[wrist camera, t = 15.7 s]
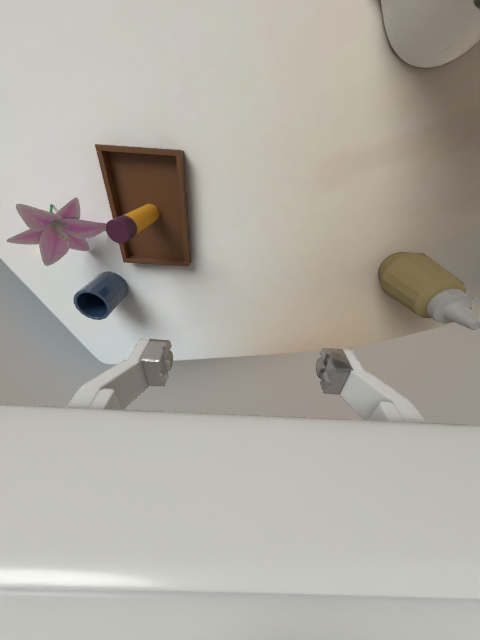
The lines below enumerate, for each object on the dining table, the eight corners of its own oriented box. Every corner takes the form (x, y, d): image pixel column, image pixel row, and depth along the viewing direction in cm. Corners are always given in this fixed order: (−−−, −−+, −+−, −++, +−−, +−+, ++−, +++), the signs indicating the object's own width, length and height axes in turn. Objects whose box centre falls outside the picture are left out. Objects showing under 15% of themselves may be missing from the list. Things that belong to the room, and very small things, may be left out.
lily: (59, 254, 42) (56, 288, 37) (-14, 193, 33) (-31, 226, 27) (117, 226, 43) (123, 255, 38) (63, 157, 33) (61, 183, 28)
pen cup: (93, 270, 43) (68, 289, 37) (124, 272, 43) (104, 291, 37) (102, 297, 46) (80, 318, 40) (130, 299, 47) (113, 320, 40)
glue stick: (141, 202, 36) (102, 218, 26) (158, 203, 36) (126, 220, 26) (144, 221, 37) (109, 242, 28) (161, 222, 37) (131, 244, 28)
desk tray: (102, 145, 32) (94, 144, 31) (183, 150, 33) (180, 150, 31) (128, 258, 42) (123, 262, 40) (191, 261, 42) (189, 266, 40)
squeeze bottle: (411, 285, 44) (495, 348, 29) (367, 289, 45) (428, 353, 30) (425, 243, 39) (534, 292, 25) (376, 248, 40) (454, 300, 25)
